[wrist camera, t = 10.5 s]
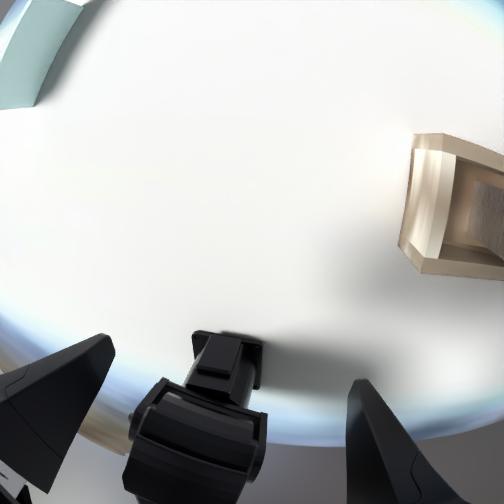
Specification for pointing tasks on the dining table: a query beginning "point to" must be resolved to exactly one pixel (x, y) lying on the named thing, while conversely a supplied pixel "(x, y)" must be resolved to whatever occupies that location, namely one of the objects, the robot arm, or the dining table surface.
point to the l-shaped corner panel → (33, 50)
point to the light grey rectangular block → (487, 217)
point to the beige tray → (448, 207)
